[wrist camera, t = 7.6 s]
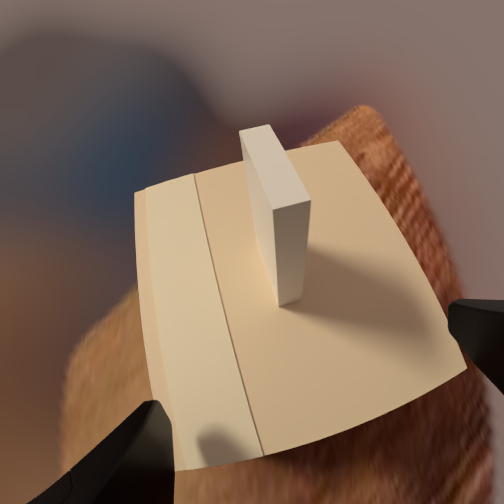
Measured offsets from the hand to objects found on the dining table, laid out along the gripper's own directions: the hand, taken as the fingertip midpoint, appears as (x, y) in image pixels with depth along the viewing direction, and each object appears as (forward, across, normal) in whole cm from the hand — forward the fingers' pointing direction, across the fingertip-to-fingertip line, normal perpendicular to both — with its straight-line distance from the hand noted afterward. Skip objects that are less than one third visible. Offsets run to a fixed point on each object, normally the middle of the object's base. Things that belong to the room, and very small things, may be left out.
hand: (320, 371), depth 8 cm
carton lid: (+4, 0, -2) cm, 4 cm away
